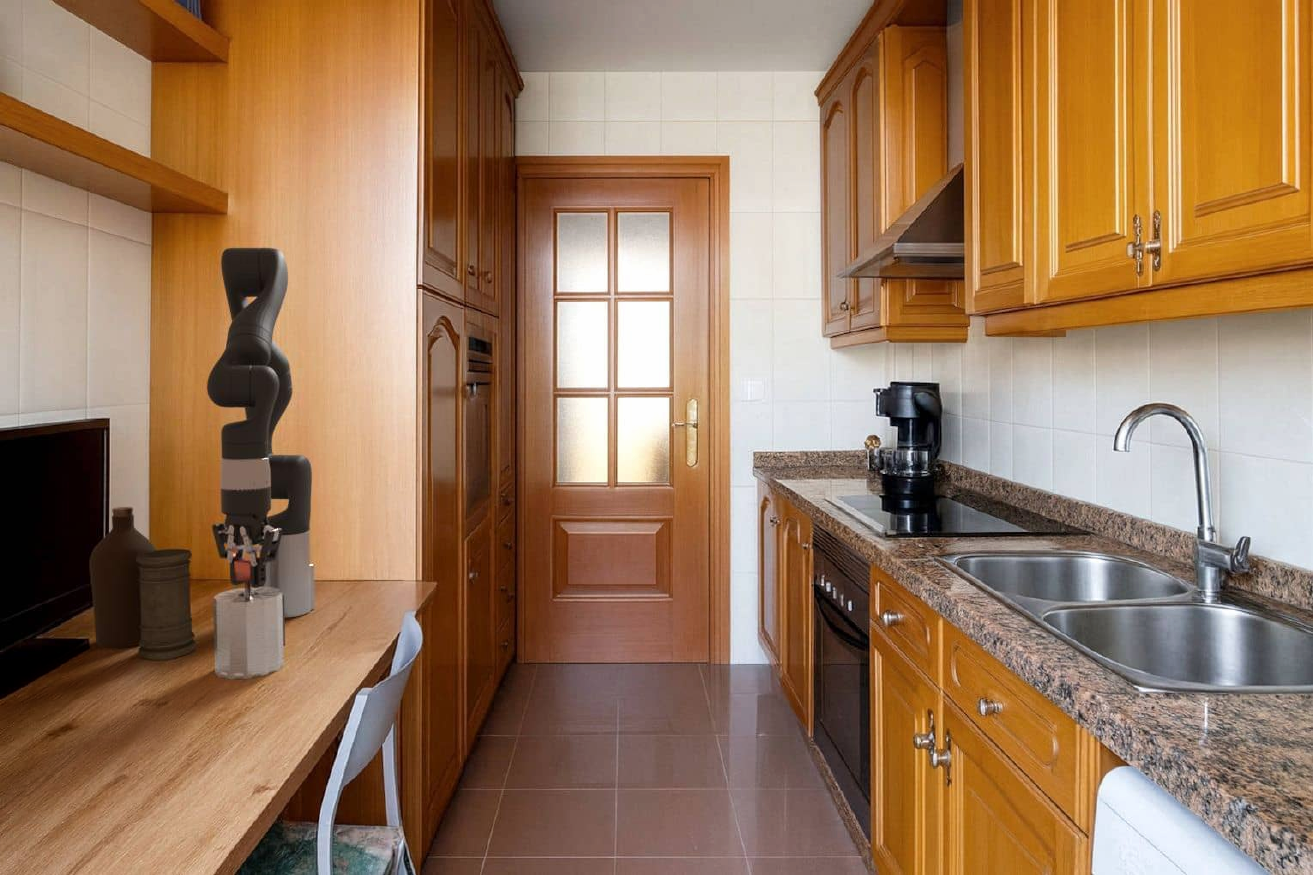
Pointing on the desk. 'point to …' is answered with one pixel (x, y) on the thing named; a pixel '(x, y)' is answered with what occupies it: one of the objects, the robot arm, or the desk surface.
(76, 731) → the desk surface
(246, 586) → the plunger
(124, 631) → the olive oil
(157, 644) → the container
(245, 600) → the press carafe
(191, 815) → the desk surface
